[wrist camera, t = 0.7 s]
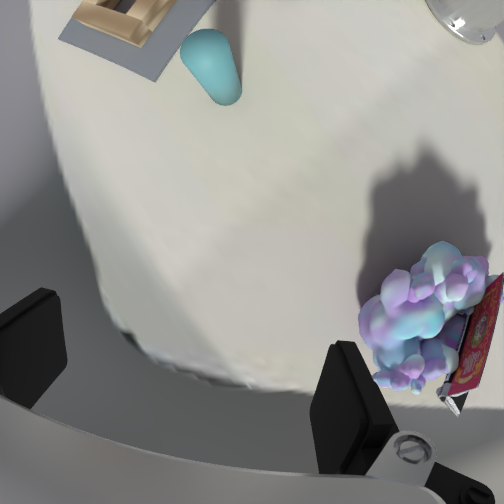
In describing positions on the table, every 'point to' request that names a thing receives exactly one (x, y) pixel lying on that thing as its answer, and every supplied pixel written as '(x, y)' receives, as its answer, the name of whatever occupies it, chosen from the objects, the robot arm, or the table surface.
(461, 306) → the cotton candy cloud
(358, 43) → the table surface
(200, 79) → the dowel
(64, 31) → the slate base
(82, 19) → the oak block
